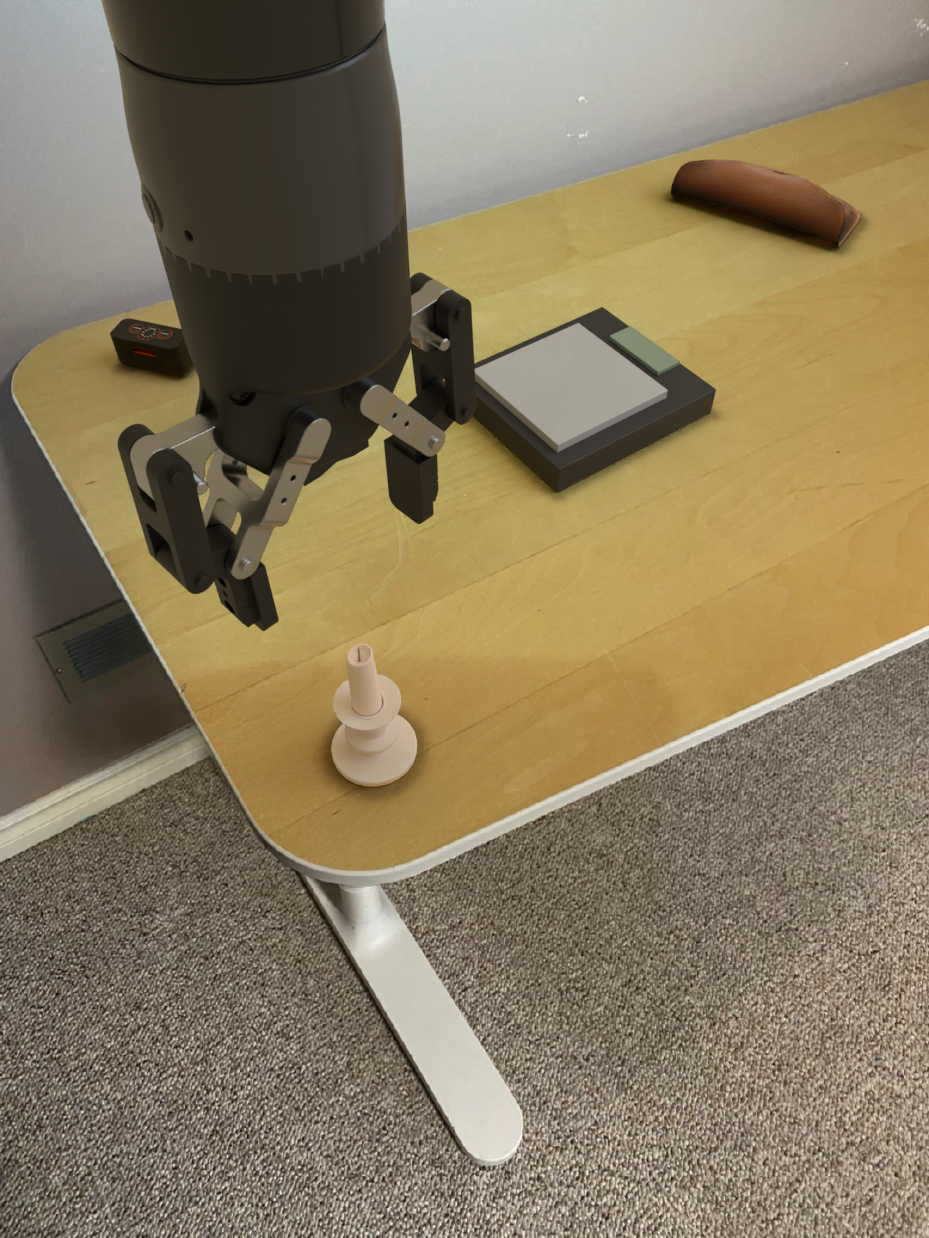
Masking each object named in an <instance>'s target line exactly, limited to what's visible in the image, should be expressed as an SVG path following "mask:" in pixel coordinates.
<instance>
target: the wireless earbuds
mask: <svg viewBox="0 0 929 1238" xmlns="http://www.w3.org/2000/svg"><path fill="white" fill-rule="evenodd" d="M109 336H110V338H111V342H112V344H113V347H114V351H115V353H116V355H117V359H118V362H119V363H120V365H121V366H123V367H126V368H132V369H136V370H140V371H145V372H149V373H154V374H159V375H164V376H167V377H173V378H177V379H183V378H184V377H185V376H186V375H187V374H188V373H189V372H190V370H191V369H192V368H193V367H194V364H193V362H192V360H191V357H190V355H189V352H188V349H187V346H186V343H185V340H184V336H183V333H182V329H181V328H179V327H174V326H169V325H165V324H160V323H156V322H149V321H144V320H141V319H135V318H132V317H131V318H130V317H129V318H123V319H122V320H120V321H119V322H118V323H117V325H115V327H114V328H112V330H111V331H110V332H109Z"/></svg>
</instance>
